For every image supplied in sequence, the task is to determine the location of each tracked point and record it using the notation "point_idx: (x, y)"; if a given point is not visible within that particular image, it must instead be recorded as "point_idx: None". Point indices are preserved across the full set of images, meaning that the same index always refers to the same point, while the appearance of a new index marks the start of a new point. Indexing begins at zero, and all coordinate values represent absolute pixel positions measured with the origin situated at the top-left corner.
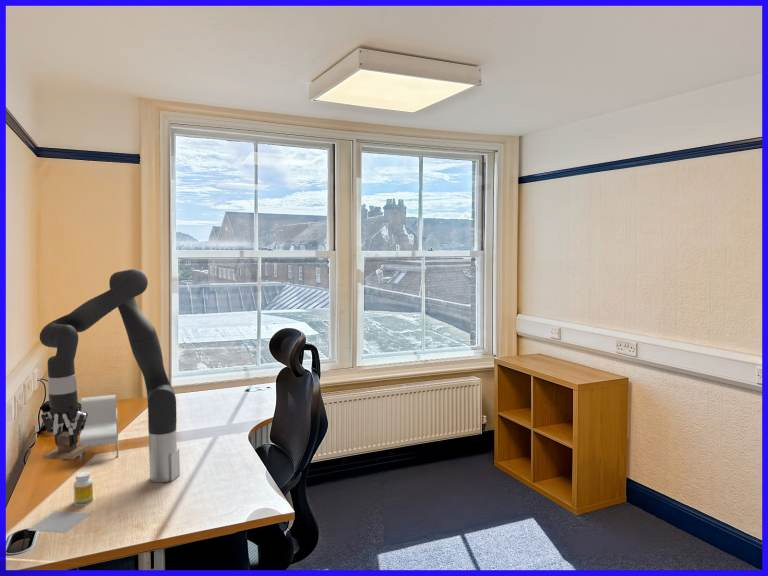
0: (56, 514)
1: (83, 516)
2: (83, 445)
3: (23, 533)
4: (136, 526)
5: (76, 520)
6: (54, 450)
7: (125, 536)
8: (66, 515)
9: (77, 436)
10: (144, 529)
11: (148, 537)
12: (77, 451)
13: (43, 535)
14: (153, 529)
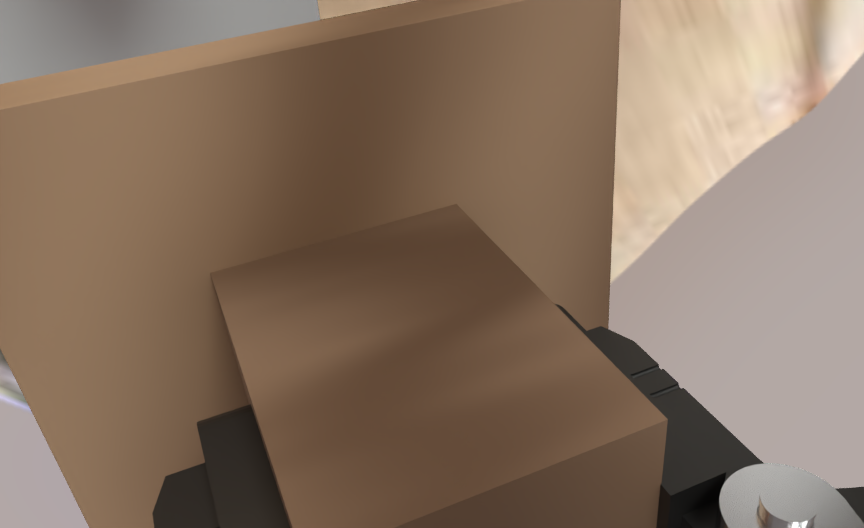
0: (39, 56)
1: (295, 19)
2: (503, 49)
3: None
4: (684, 17)
5: None
6: (111, 449)
7: (672, 132)
8: (144, 45)
9: (708, 412)
10: (735, 34)
11: (776, 101)
12: (576, 317)
13: None
14: (777, 19)
